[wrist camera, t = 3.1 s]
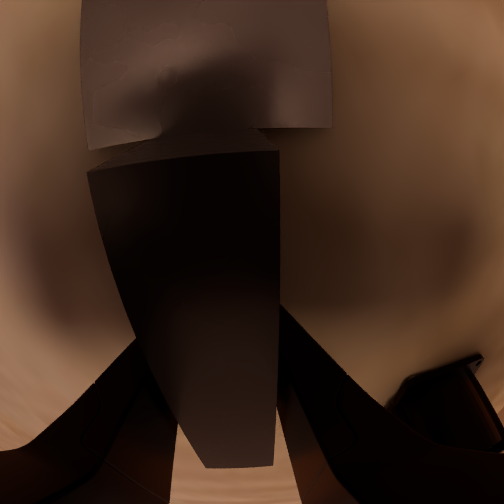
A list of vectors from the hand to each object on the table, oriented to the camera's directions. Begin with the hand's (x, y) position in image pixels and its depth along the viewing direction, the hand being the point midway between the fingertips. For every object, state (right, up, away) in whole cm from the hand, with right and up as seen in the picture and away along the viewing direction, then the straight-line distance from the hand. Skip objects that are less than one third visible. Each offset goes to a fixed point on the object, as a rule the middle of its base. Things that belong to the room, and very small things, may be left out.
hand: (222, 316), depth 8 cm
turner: (0, +4, -1) cm, 4 cm away
